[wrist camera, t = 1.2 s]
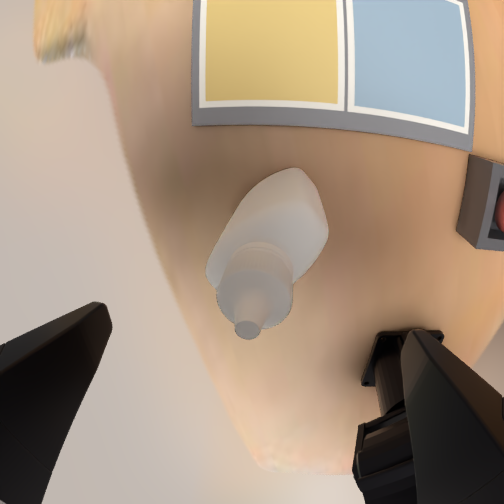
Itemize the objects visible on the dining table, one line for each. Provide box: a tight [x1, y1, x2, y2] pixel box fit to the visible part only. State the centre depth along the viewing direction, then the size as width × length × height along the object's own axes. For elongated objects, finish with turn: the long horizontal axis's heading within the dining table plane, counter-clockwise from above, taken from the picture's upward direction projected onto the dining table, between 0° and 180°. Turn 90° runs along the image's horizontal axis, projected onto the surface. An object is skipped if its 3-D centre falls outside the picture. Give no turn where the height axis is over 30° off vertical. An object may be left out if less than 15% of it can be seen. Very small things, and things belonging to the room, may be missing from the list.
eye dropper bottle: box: [205, 167, 329, 340], centre depth 13 cm, size 4×6×12 cm
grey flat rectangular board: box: [191, 0, 475, 152], centre depth 13 cm, size 12×18×1 cm, turn 90°
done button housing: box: [456, 154, 504, 251], centre depth 15 cm, size 6×6×3 cm
